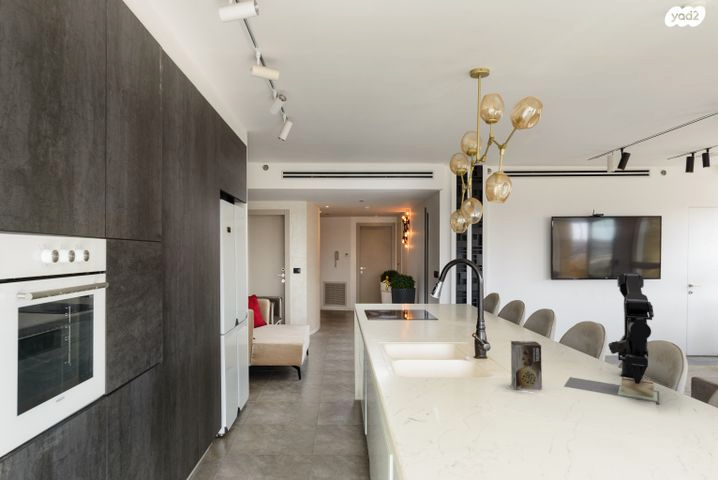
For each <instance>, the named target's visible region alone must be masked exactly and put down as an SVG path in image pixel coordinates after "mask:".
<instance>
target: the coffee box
mask: <svg viewBox="0 0 718 480" xmlns="http://www.w3.org/2000/svg"><path fill="white" fill-rule="evenodd" d="M510 343H511V344H510V353H511V354H510V355H511V356H510V357H511V358H510V361H511V375H510V376H511V377H510V378H511V386H512V387H513V389H514V390H515V391H521V390H538V391H539V390H541V391H542V389H543V384H542V383H543V379H542V377H543V376H542V371H543V370H542V345H541V344H540V343H538V341H535V340H534V341H530V340H529V341H527V340H526V341H525V340H524V341H521V340H520V341H519V340H511V341H510Z"/></svg>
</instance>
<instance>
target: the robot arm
mask: <svg viewBox="0 0 718 480" xmlns="http://www.w3.org/2000/svg"><path fill="white" fill-rule="evenodd" d="M616 280H617V288H619V292H620V294H621V295H622V297H623V313H624V314H623V315H624V317H623V321H624V323H623V325H624V327H623V328H624V334H623V335H622V337H621V338H620V339H619V340H615V341H611V342H610V343H608V348H609V349H608V350H609V351H610V353H611V354H612V355H613V354H614V355H615V354H617V359H618V361H621V372H620V376H619V377H621V378H622V377H625V378H631V379H634V380H635V383H636V384H639V383H640V381H641V380H643V376H644V375H645V372H646V371H647V369H648V366H649V349H648V338H649V337H650V336H651V335H652V329H651V327H650V326H649V324H648V321H653V318H654V316H655V314H654V308H653V304H652V302H650V301H649V299H648V296H647V295H646V294H643V291H642V289H643V288H644V286H645V285H644V284H645V283H644V276H642V275H641V274H640V273H638V272H624V273H623V274H621V275H618V276H617V279H616Z"/></svg>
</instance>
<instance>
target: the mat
mask: <svg viewBox="0 0 718 480" xmlns="http://www.w3.org/2000/svg"><path fill="white" fill-rule="evenodd" d="M563 387H565V388H571V389H576V390H581V391H586V392H587V391H588V392H593V393H600V394H606V395H611V396H616V397H622V398H626V399H627V398H628V399H634V400H641V401H645V402H651V403H655V405H658V406H660V391H659V390H653V398H652V397H646V396H641V395H635V394H629V393H623V392H622V389H621V385H620V384H615V383H609V382H603V381H602V382H601V381H597V380H596V381H595V380H591V379H584V378H578V377H573V376H569V378H568V379H567V381H566V383H565V384H564V385H563Z"/></svg>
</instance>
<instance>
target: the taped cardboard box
mask: <svg viewBox="0 0 718 480" xmlns="http://www.w3.org/2000/svg"><path fill="white" fill-rule="evenodd" d="M621 389H622V392H623V393H629V394H635V395H641V396H646V397H652V398H653V391H654V381H651V380H644V379H641V381H640V383H639V384H636V383H635V380H634V378H628V377H621Z"/></svg>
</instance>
